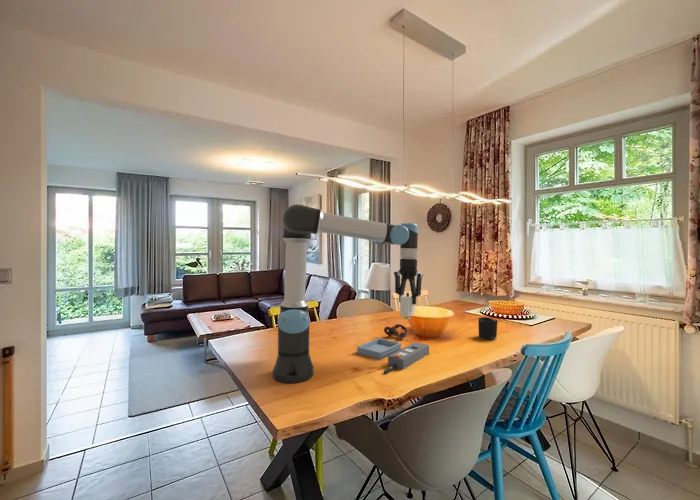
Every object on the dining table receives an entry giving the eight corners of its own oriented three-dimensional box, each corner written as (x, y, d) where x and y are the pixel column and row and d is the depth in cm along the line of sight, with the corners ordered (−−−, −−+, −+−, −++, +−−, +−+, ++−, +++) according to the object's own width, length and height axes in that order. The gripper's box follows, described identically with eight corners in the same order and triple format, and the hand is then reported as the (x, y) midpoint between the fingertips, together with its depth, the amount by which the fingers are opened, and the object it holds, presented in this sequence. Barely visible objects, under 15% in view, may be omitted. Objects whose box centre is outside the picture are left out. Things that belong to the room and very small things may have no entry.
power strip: (392, 376, 119) (392, 364, 119) (376, 371, 123) (377, 359, 123) (429, 353, 144) (429, 343, 144) (415, 350, 148) (415, 340, 148)
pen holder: (478, 339, 167) (479, 320, 167) (477, 334, 176) (477, 316, 176) (498, 341, 164) (498, 322, 164) (495, 336, 173) (496, 318, 173)
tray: (380, 359, 135) (380, 352, 135) (357, 353, 143) (357, 346, 143) (400, 349, 149) (401, 343, 149) (378, 344, 157) (378, 338, 157)
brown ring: (402, 335, 174) (407, 324, 170) (403, 348, 165) (409, 337, 162) (381, 330, 173) (386, 319, 169) (381, 342, 165) (386, 331, 161)
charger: (407, 320, 137) (408, 294, 137) (399, 319, 140) (400, 293, 139) (414, 318, 142) (415, 292, 141) (406, 317, 144) (407, 291, 144)
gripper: (430, 258, 138) (428, 312, 138) (396, 257, 148) (395, 306, 149) (422, 259, 132) (421, 315, 132) (387, 257, 143) (386, 309, 143)
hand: (407, 310), depth 141 cm, fingers closed on charger, 4 cm apart
